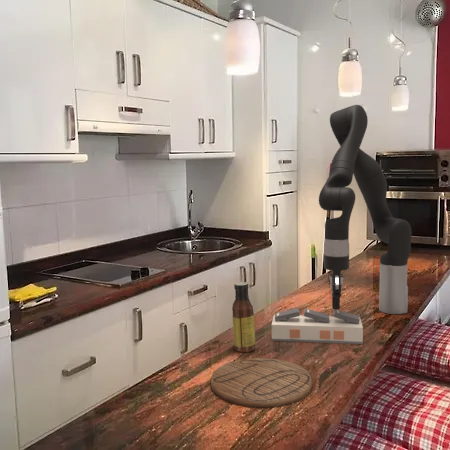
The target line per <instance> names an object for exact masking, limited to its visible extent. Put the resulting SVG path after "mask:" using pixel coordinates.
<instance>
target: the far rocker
mask: <svg viewBox="0 0 450 450" xmlns="http://www.w3.org/2000/svg"><path fill="white" fill-rule="evenodd" d="M300 313H301V312H300V308H299V307H296V308H292V309H289V310H284V311H279V312H276V313H274V315H275V321H280V320H285V319H286V320H289V318H293V317H298V316H300V315H301V314H300Z"/></svg>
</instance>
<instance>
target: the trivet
mask: <svg viewBox="0 0 450 450" xmlns="http://www.w3.org/2000/svg"><path fill="white" fill-rule="evenodd" d="M210 386H211V387H210V388H211V390H212V392H213V393H214V394H215V395H216V396H217V397H219V398H220V399H221V400H223V401H225V402H228V403H231V404H233V405H236V406H242V407H247V408H260V409H261V408H262V409H267V408H279V407H282V406H283V407H284V406H286V405H291V404H294V403H296V402H299V401H301V400H302V399H304V398H305V397H307V396H308V395H309V394H310V392H311V390H312V376H311V374H310V373H309V371H308V370H307V369H305V368H303V367H302V366H301V365H298V364H296V363H294V362H291V361H288V360H287V361H286V360H284V359H283V360H282V359H279V358H278V359H277V358H269V357H268V358H267V357H265V358H264V357H253V358H244V359H237V360H234V361H230V362H228V363H227V362H226V363H225V364H223V365H221V366H219V367H217V368H216V370H214V371H213V372H212V374H211V377H210Z"/></svg>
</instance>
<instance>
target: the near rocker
mask: <svg viewBox="0 0 450 450" xmlns="http://www.w3.org/2000/svg"><path fill="white" fill-rule="evenodd" d="M332 314H333V316H334V317H335V318H339V319H342V320H345V322H347V321H349V322H353V323H356V324H359V321H360V319H361V318H360V319H359V317H360V315H357V314H354V313H350V312H346V311H344V310H340V309H333V312H332Z"/></svg>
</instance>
